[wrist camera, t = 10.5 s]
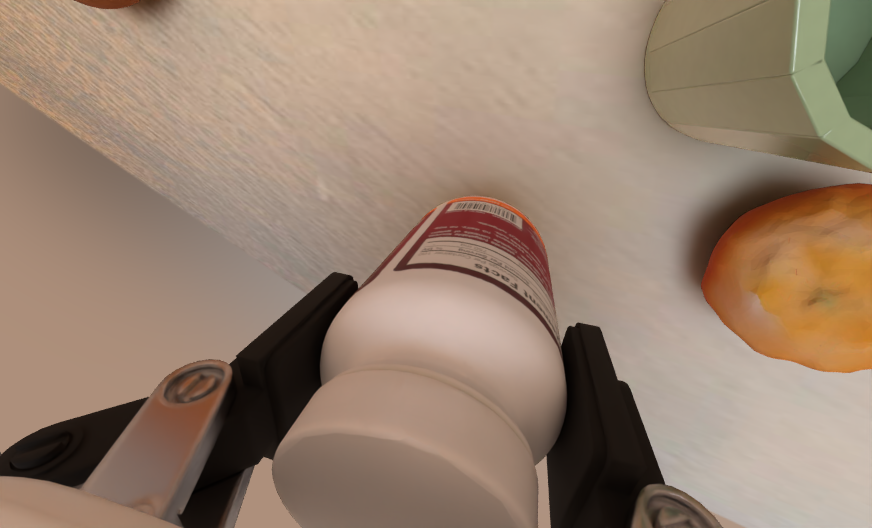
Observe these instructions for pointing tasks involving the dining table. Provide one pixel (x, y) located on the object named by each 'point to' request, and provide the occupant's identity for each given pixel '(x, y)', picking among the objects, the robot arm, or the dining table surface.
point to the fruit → (800, 278)
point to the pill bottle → (435, 384)
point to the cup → (767, 76)
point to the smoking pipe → (108, 3)
